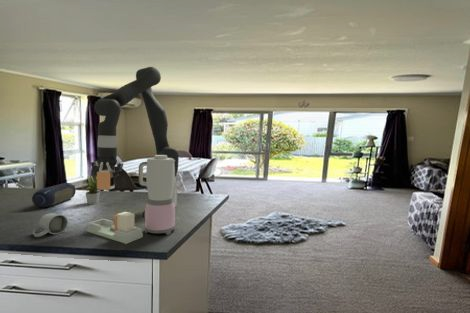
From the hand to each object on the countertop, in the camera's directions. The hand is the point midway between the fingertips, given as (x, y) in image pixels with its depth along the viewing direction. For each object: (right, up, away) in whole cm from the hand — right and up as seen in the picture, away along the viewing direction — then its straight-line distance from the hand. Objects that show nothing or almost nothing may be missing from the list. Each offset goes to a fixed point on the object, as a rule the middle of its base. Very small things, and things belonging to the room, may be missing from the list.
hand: (107, 185), depth 117 cm
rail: (+7, -19, -9) cm, 22 cm away
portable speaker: (-44, -14, +34) cm, 57 cm away
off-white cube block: (0, -1, 0) cm, 1 cm away
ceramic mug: (-18, -18, -10) cm, 28 cm away
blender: (+22, -19, -3) cm, 30 cm away
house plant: (-23, -14, +36) cm, 45 cm away
